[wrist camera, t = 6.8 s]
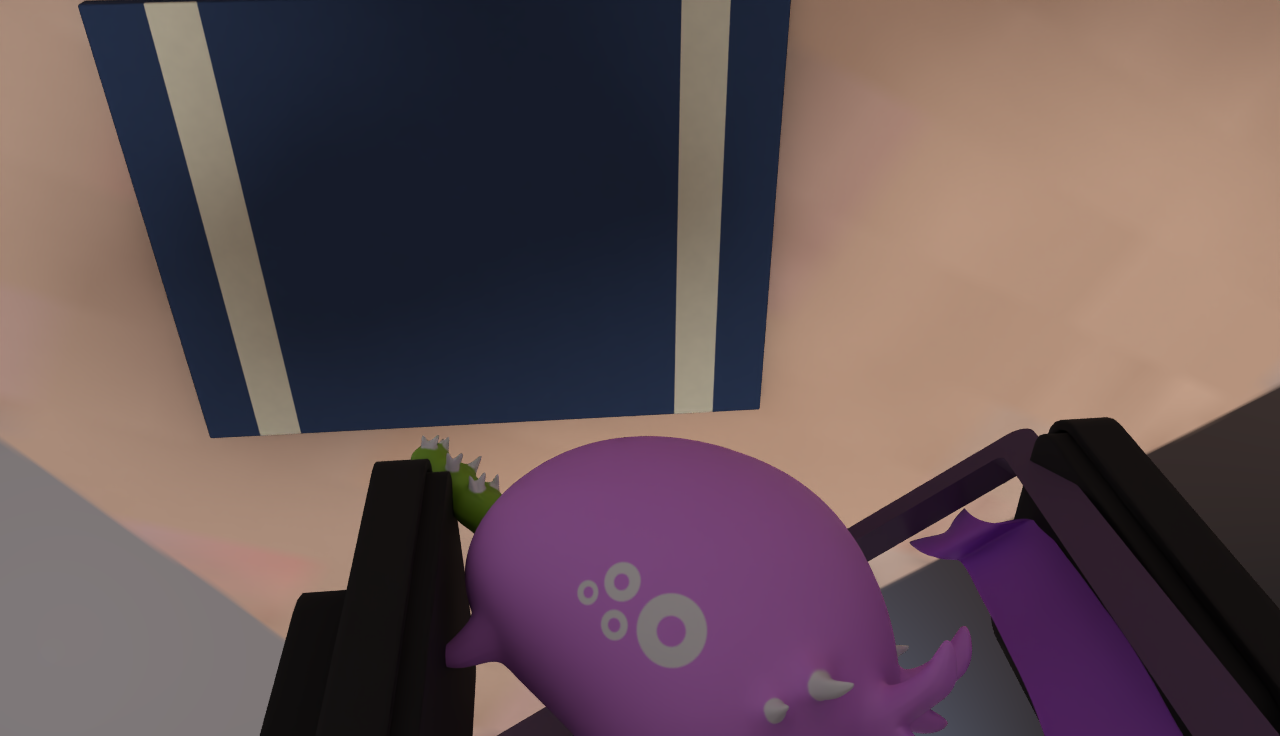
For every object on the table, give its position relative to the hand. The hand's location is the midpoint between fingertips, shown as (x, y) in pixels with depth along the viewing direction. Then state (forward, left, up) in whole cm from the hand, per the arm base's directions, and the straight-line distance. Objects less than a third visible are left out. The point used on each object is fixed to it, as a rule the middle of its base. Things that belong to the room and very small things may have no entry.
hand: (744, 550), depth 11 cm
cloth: (+4, +3, -16) cm, 17 cm away
